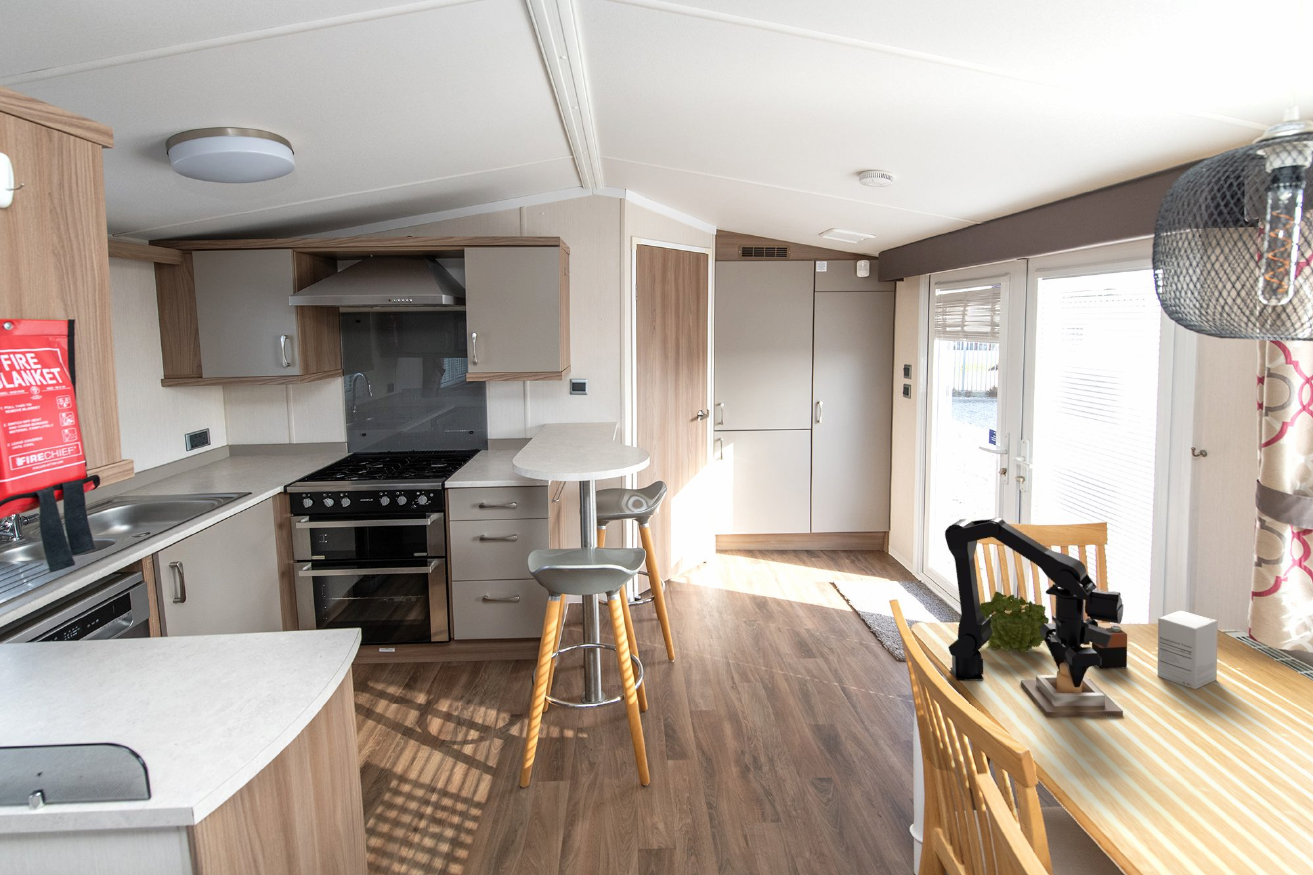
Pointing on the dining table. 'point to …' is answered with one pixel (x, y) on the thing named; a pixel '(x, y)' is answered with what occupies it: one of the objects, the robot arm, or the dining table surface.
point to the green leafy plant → (1014, 622)
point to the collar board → (1070, 699)
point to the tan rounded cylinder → (1066, 681)
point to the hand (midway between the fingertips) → (1069, 679)
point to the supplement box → (1187, 649)
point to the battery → (1113, 649)
